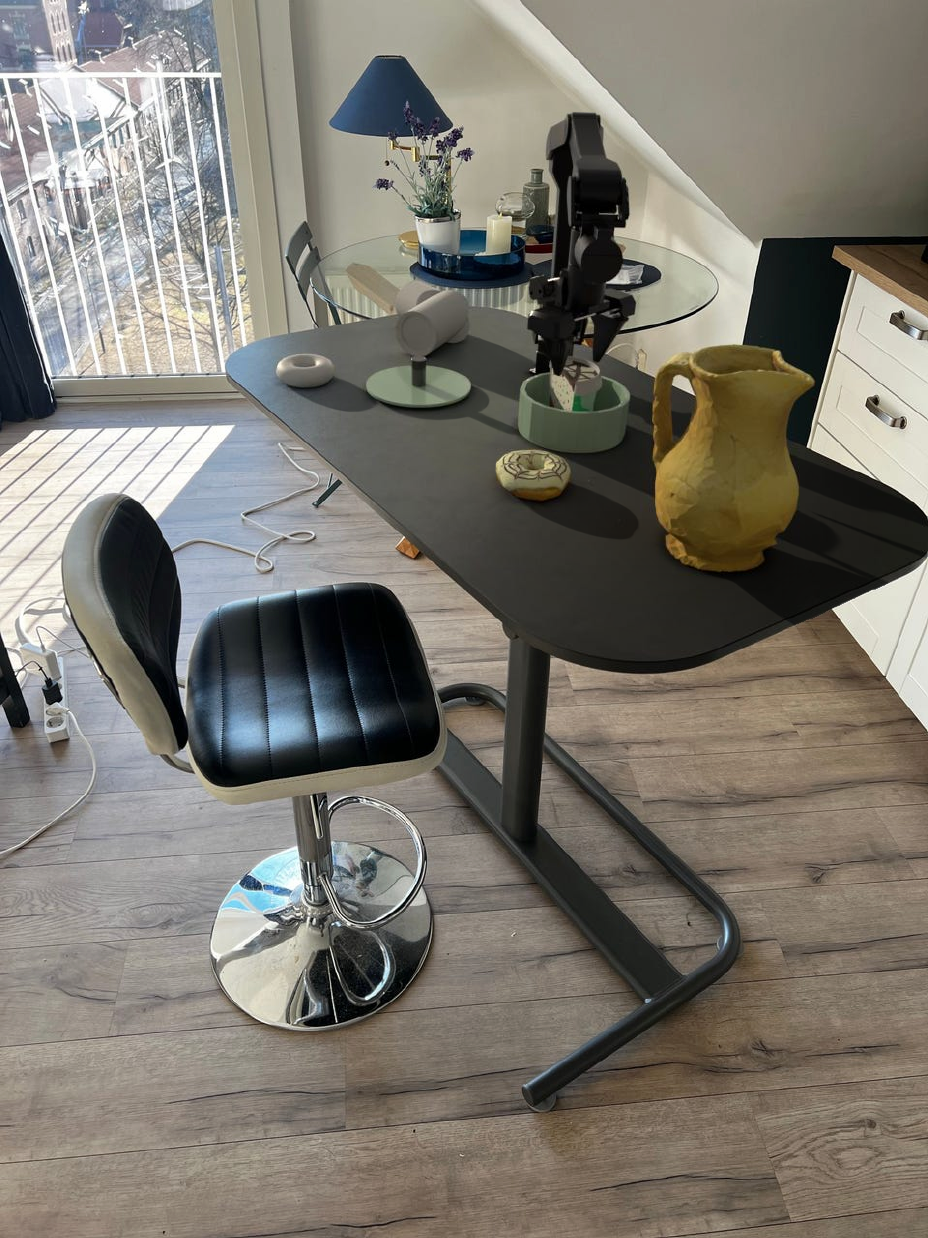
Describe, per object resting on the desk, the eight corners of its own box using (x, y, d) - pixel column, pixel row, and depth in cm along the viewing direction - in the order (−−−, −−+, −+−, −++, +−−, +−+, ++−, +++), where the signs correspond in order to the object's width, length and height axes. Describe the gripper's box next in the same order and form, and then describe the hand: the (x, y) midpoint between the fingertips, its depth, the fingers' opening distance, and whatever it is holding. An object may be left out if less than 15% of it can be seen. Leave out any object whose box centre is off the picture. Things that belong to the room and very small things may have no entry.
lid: (422, 363, 169) (423, 333, 165) (492, 392, 158) (493, 361, 155) (345, 387, 158) (343, 355, 155) (413, 420, 148) (413, 387, 145)
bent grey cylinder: (497, 339, 177) (438, 311, 189) (490, 286, 169) (430, 261, 182) (422, 376, 170) (367, 344, 183) (412, 323, 163) (355, 293, 176)
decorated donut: (499, 504, 126) (500, 479, 124) (492, 468, 135) (493, 445, 133) (574, 503, 127) (576, 479, 125) (562, 468, 136) (564, 444, 133)
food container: (607, 442, 142) (616, 380, 136) (570, 445, 141) (577, 383, 135) (580, 410, 152) (586, 351, 146) (545, 413, 151) (550, 353, 145)
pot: (565, 400, 157) (569, 363, 153) (645, 432, 147) (652, 394, 143) (496, 426, 147) (498, 388, 143) (577, 463, 137) (581, 422, 133)
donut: (328, 393, 156) (340, 370, 164) (326, 373, 154) (339, 352, 162) (270, 389, 157) (285, 367, 165) (268, 369, 155) (283, 348, 163)
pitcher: (699, 594, 109) (741, 388, 95) (616, 527, 123) (642, 339, 110) (811, 570, 115) (866, 373, 101) (720, 509, 129) (757, 329, 116)
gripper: (586, 242, 142) (576, 341, 151) (503, 261, 131) (497, 367, 140) (644, 257, 136) (630, 360, 145) (561, 279, 125) (551, 389, 134)
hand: (577, 368), depth 141 cm, fingers open, 9 cm apart
